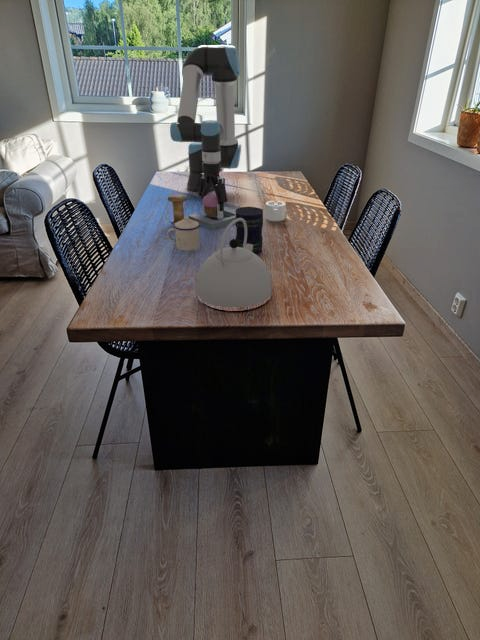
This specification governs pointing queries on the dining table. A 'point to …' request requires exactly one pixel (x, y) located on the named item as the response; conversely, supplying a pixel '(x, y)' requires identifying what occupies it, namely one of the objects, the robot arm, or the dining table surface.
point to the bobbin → (177, 206)
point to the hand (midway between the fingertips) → (213, 215)
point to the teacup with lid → (186, 234)
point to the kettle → (234, 275)
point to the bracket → (275, 211)
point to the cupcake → (210, 205)
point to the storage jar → (250, 227)
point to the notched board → (212, 223)
